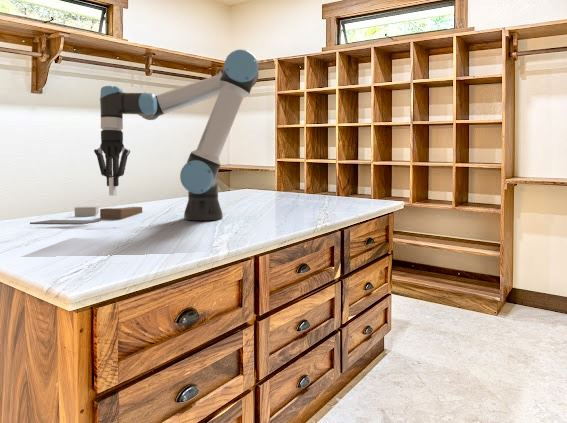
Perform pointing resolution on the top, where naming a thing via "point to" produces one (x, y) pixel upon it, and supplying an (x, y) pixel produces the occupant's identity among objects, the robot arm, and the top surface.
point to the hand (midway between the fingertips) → (112, 195)
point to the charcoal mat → (65, 222)
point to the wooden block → (119, 212)
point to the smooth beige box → (86, 211)
